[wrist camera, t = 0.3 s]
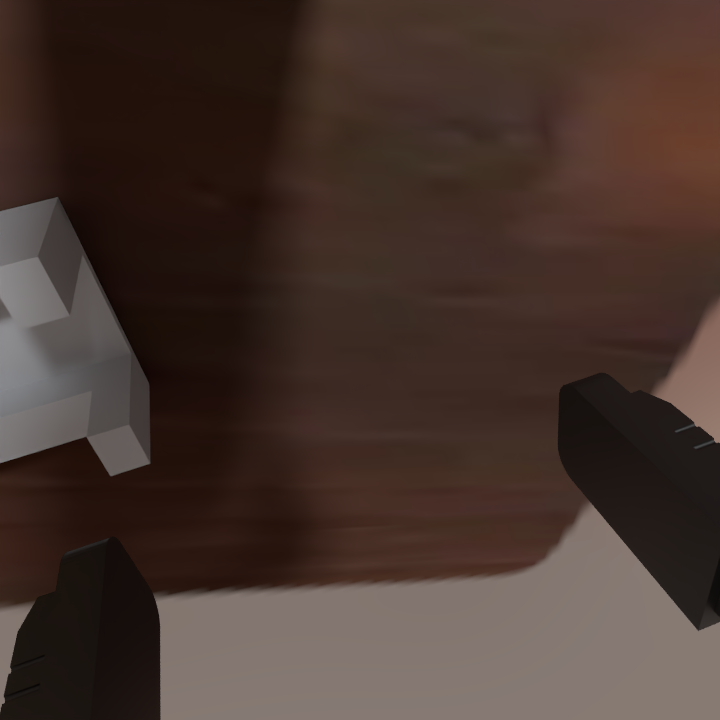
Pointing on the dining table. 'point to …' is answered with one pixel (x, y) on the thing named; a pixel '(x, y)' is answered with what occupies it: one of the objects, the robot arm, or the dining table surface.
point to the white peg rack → (63, 348)
